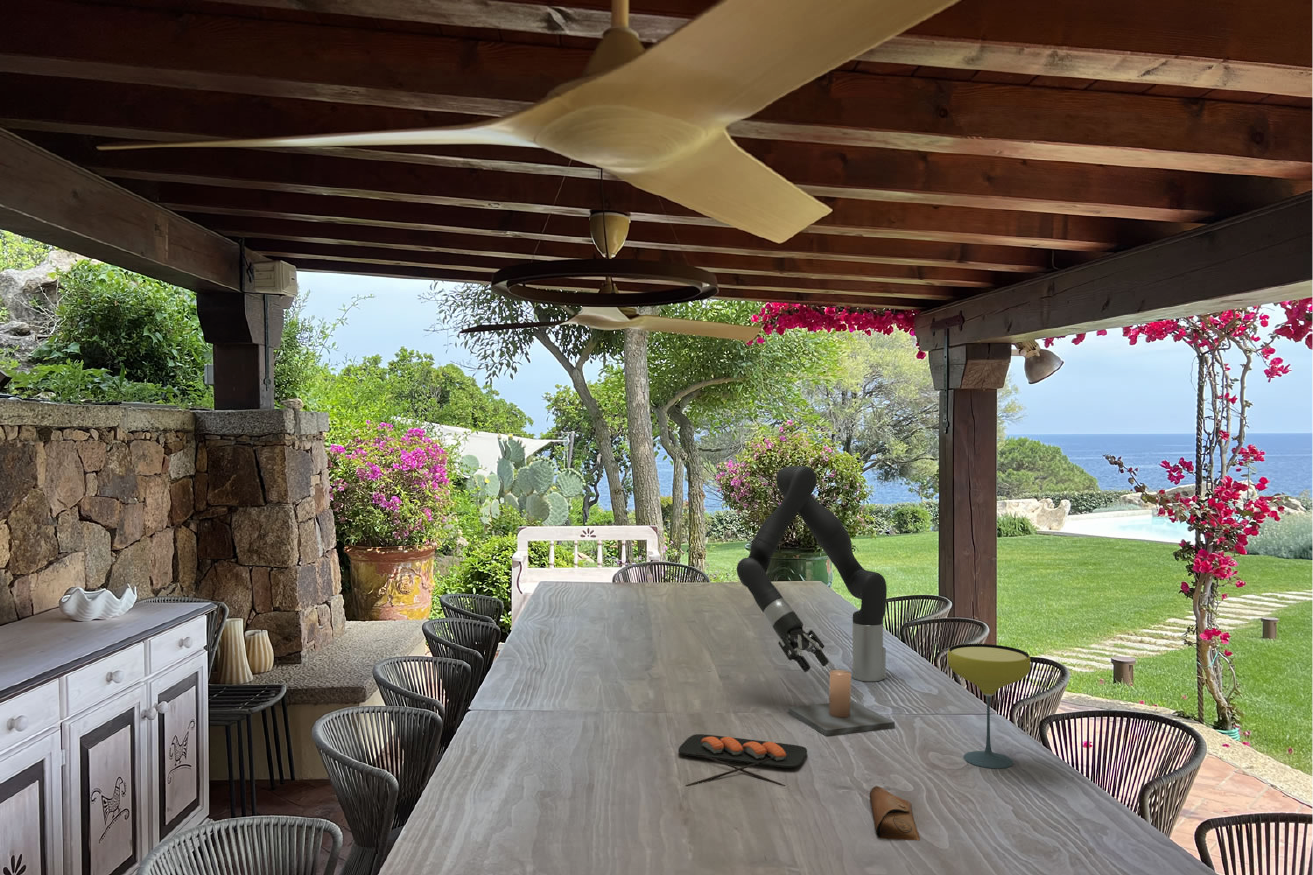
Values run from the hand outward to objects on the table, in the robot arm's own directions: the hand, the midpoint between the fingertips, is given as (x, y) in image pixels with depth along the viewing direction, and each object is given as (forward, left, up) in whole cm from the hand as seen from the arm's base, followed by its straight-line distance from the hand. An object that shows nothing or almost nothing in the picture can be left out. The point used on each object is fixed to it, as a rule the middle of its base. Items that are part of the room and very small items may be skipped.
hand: (817, 667), depth 242 cm
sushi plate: (+37, +28, -13) cm, 48 cm away
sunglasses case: (+19, +64, -13) cm, 68 cm away
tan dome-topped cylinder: (-3, +6, -11) cm, 13 cm away
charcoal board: (-3, +7, -13) cm, 15 cm away
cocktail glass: (-20, +44, -13) cm, 50 cm away
